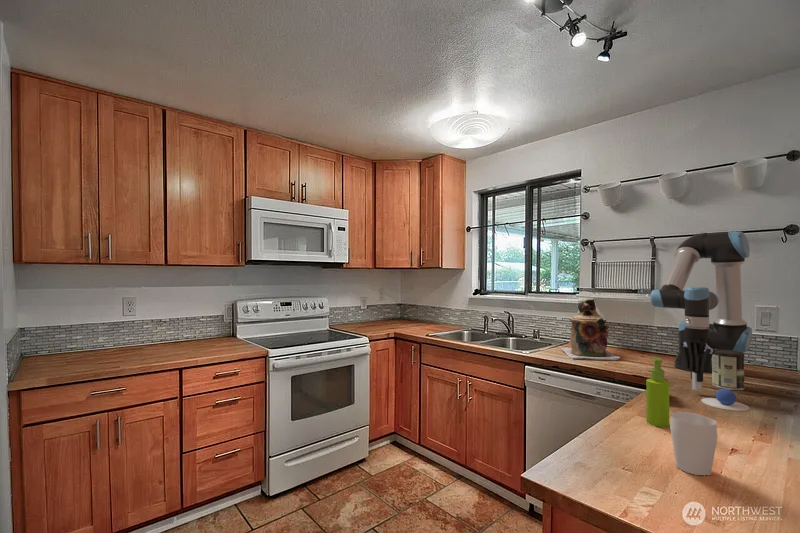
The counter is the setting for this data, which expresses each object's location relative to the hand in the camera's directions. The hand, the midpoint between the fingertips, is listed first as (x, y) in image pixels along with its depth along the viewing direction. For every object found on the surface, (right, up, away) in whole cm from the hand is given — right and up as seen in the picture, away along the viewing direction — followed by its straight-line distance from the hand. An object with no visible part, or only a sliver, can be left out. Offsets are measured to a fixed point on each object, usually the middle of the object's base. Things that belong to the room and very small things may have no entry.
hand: (696, 389), depth 149 cm
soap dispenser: (-33, -2, -28) cm, 44 cm away
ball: (+2, +1, -11) cm, 11 cm away
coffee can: (+20, -2, +10) cm, 23 cm away
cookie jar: (-8, -3, +68) cm, 68 cm away
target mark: (+2, -2, -11) cm, 11 cm away
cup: (-43, -2, -56) cm, 71 cm away
